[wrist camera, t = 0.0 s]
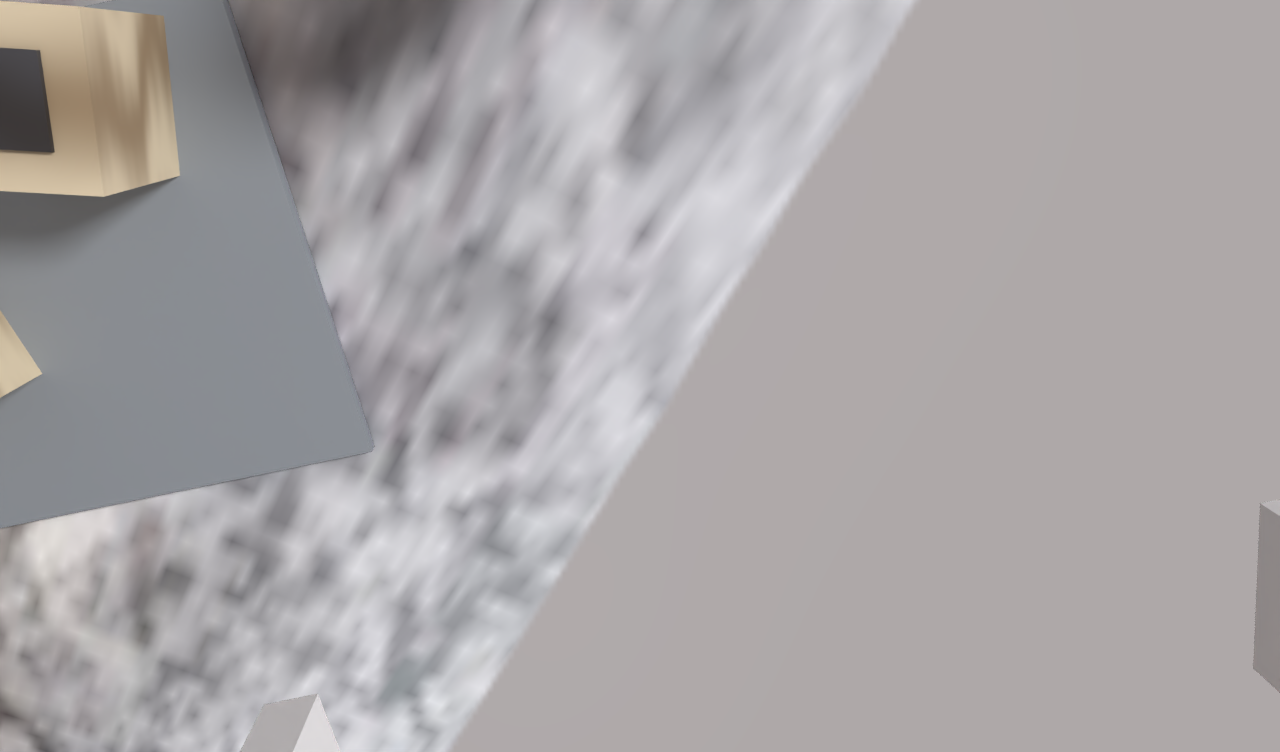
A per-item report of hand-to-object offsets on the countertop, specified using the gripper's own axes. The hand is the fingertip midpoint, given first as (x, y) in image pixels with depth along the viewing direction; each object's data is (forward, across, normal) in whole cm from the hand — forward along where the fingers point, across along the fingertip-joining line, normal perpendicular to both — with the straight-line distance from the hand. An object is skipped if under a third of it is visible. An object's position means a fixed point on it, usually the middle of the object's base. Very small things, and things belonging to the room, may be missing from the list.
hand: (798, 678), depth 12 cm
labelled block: (+27, -20, +11) cm, 36 cm away
